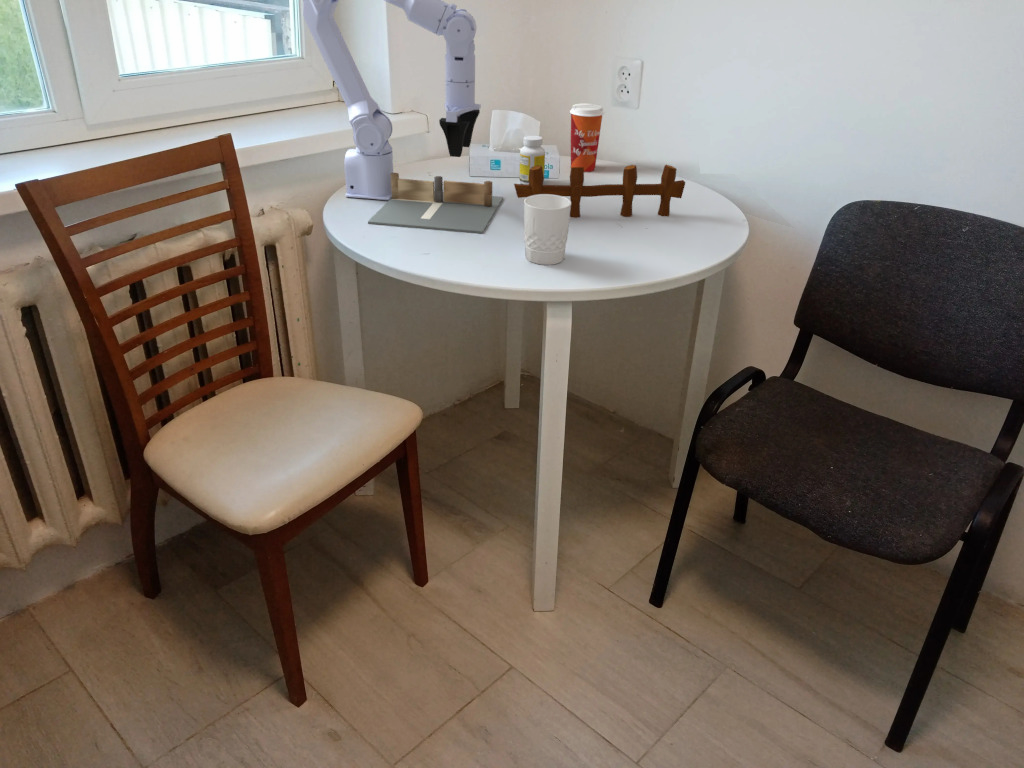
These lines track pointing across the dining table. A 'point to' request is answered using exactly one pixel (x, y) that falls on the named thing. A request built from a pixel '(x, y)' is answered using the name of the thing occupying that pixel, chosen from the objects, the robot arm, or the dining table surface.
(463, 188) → the fence gate
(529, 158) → the supplement bottle
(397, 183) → the fence base
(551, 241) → the white cup
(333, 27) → the robot arm
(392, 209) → the board
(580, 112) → the paper cup
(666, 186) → the fence
